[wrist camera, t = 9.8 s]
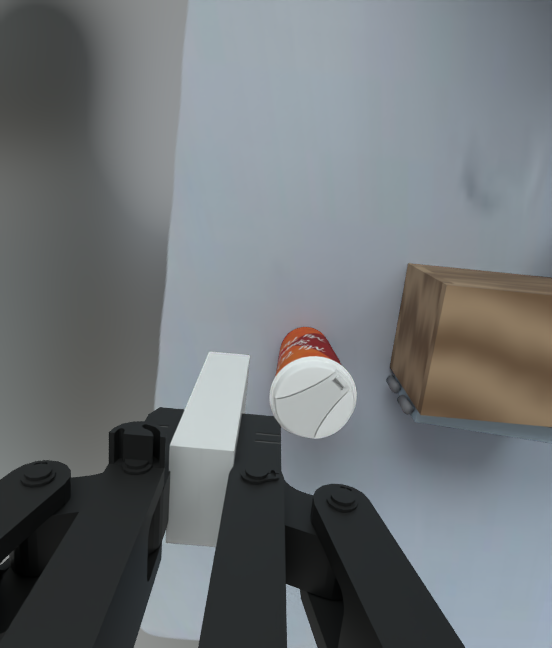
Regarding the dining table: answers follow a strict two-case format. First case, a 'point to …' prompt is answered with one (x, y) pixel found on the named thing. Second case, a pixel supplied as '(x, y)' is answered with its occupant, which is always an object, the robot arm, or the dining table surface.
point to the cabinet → (476, 345)
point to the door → (472, 425)
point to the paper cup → (311, 386)
